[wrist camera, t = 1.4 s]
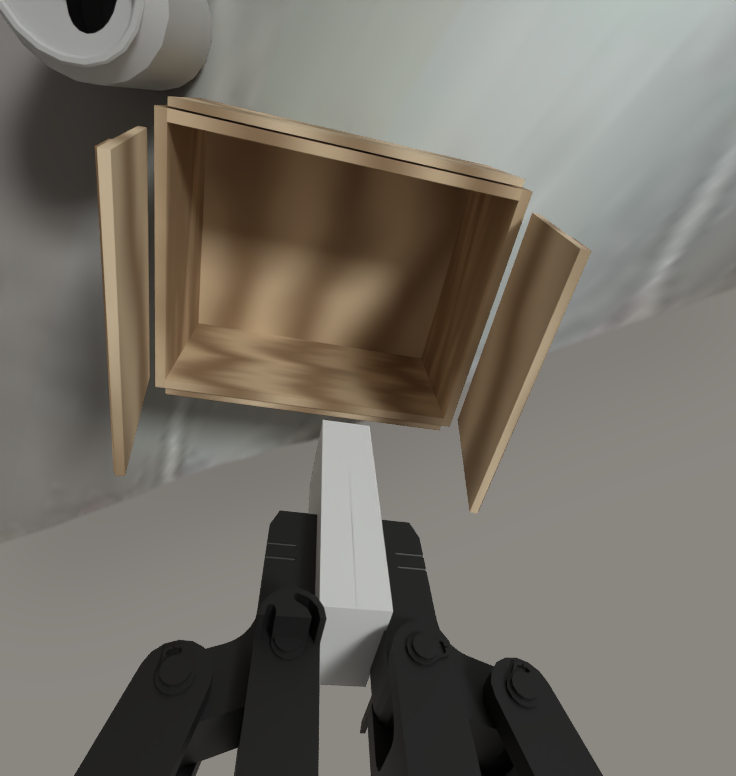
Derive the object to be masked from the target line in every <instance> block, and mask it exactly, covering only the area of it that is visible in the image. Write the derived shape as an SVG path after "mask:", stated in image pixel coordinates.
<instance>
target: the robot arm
mask: <svg viewBox="0 0 736 776" xmlns="http://www.w3.org/2000/svg"><path fill="white" fill-rule="evenodd" d="M425 569H426V567H425V563H424V558H423V553H422V549H421V544H420V539H419V537H418V535H417V534H416V532H415V531H414V529H413V528H412V526H411V525H410V523H407V522H397V521H387V520H381V512H380V504H379V497H378V489H377V481H376V473H375V466H374V458H373V450H372V442H371V435H370V427H369V426H366V425H359V424H351V423H344V422H336V421H329V420H323V422H322V427H321V432H320V437H319V442H318V447H317V452H316V457H315V462H314V467H313V472H312V477H311V482H310V493H309V514H308V513H298V512H288V511H279V513H278V514H277V516H276V517H275V518H274V520H273V521H272V522H271V524H270V527H269V534H268V540H267V547H266V554H265V560H264V567H263V574H262V581H261V588H260V595H259V602H258V609H257V615H256V619H255V620H254V622H253V624H252V625H251V627H250V628H249V629H248V630H247V631H246V632H245V633H244V634H243V635H242V636H240V637H238V638H237V639H235V640H233V641H231V642H228V643H225V644H222V645H218V646H214V647H211V648H207V649H205V648H204V647H202V646H201V645H199V644H197V643H195V642H193V641H184V640H177V641H173V642H169V643H165V644H163V645H162V646H160V647H159V648H157V649H155V650H154V651H152V652H151V653H150V654H149V655H148V656H147V658H146V659H145V660H144V661H143V662H142V664H141V665H140V667H139V668H138V670H137V672H136V673H135V675H134V677H133V678H132V680H131V682H130V683H129V685H128V687H127V688H126V690H125V692H124V693H123V695H122V697H121V698H120V700H119V702H118V703H117V705H116V707H115V708H114V710H113V712H112V713H111V715H110V717H109V718H108V720H107V722H106V723H105V725H104V727H103V729H102V730H101V732H100V733H99V735H98V737H97V738H96V740H95V742H94V743H93V745H92V747H91V748H90V750H89V752H88V754H87V755H86V757H85V758H84V760H83V762H82V763H81V765H80V767H79V768H78V770H77V772H76V773H75V775H74V776H196V773H197V771H198V768H199V766H200V763H201V761H202V760H205V759H208V758H210V757H213V756H216V755H219V754H221V753H224V752H227V751H230V750H232V749H235V748H238V750H237V758H236V765H235V772H234V776H318V753H319V752H318V750H319V685H339V686H363V687H365V686H366V684H367V681H368V679H369V675H370V678H371V691H372V696H371V699H370V702H369V704H368V707H367V709H366V712H365V714H364V717H363V719H362V722H361V723H362V724H361V730H360V733H365V732H366V730H367V727H368V737H369V752H370V753H369V754H370V770H371V776H603V775H602V773H601V772H600V770H599V768H598V767H597V765H596V763H595V761H594V760H593V758H592V756H591V755H590V753H589V751H588V749H587V748H586V746H585V744H584V743H583V741H582V739H581V738H580V736H579V734H578V733H577V731H576V729H575V728H574V726H573V724H572V722H571V721H570V719H569V717H568V716H567V714H566V712H565V711H564V709H563V707H562V705H561V704H560V702H559V700H558V699H557V697H556V695H555V694H554V692H553V691H552V688H551V687H550V685H549V684H548V682H547V681H546V679H545V678H544V677H543V675H542V674H541V673H540V672H539V671H538V670H537V669H536V668H534V667H533V666H532V665H531V664H529V663H528V662H525V661H523V660H520V659H518V658H504V659H502V660H500V661H498V662H496V664H495V666H491V665H489V664H486V663H484V662H481V661H479V660H476V659H474V658H471V657H469V656H466V655H465V654H462V653H461V652H459V651H458V650H457V649H455V648H454V647H453V646H452V645H451V644H450V642H449V640H448V639H447V638H446V637H445V636H444V634H443V633H442V632H441V631H440V629H439V626H438V623H437V620H436V616H435V610H434V605H433V602H432V596H431V592H430V586H429V582H428V577H427V572H426V571H425Z"/></svg>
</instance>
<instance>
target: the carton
mask: <svg viewBox="0 0 736 776" xmlns="http://www.w3.org/2000/svg"><path fill="white" fill-rule="evenodd" d="M524 182H525V179H522V178H519V177H517V176H514V175H511V174H509V173H506V172H503V171H501V170H498V169H495V168H492V167H490V166H486V165H482V164H478V163H474V162H469V161H465V160H461V159H456V158H452V157H448V156H444V155H439V154H435V153H431V152H427V151H422V150H418V149H414V148H410V147H405V146H401V145H397V144H393V143H388V142H384V141H380V140H376V139H371V138H367V137H363V136H359V135H354V134H350V133H346V132H342V131H337V130H333V129H329V128H325V127H320V126H316V125H312V124H308V123H303V122H299V121H295V120H290V119H286V118H282V117H278V116H273V115H269V114H265V113H261V112H256V111H252V110H248V109H244V108H239V107H235V106H231V105H227V104H222V103H218V102H214V101H210V100H205V99H201V98H187V97H170V96H168V105H154V191H155V387H161V388H166V394H171V395H178V396H186V397H193V398H201V399H208V400H216V401H223V402H230V403H238V404H245V405H253V406H260V407H268V408H275V409H283V410H290V411H298V412H305V413H313V414H320V415H328V416H335V417H343V418H350V419H357V420H365V421H372V422H380V423H388V424H396V425H403V426H410V427H418V428H425V429H433V430H440V427H441V426H448V427H449V426H450V424H451V421H452V418H453V416H454V413H455V410H456V407H457V404H458V401H459V399H460V396H461V393H462V390H463V387H464V384H465V382H466V379H467V376H468V373H469V370H470V367H471V365H472V362H473V359H474V356H475V353H476V351H477V348H478V345H479V342H480V339H481V336H482V334H483V331H484V328H485V325H486V322H487V319H488V317H489V314H490V311H491V308H492V305H493V302H494V300H495V297H496V294H497V291H498V288H499V285H500V283H501V280H502V277H503V274H504V271H505V268H506V266H507V263H508V260H509V257H510V254H511V252H512V249H513V246H514V243H515V240H516V237H517V235H518V232H519V229H520V226H521V223H522V220H523V218H524V215H525V212H526V209H527V206H528V203H529V201H530V198H531V195H532V191H530V190H527V189H525V188H522V187H523V185H524Z"/></svg>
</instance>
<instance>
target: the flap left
mask: <svg viewBox="0 0 736 776" xmlns="http://www.w3.org/2000/svg"><path fill="white" fill-rule="evenodd" d="M95 159H96V176H97V193H98V210H99V227H100V244H101V261H102V278H103V295H104V312H105V330H106V347H107V364H108V381H109V398H110V415H111V432H112V449H113V466H114V473H115V476H125V474H126V470H127V466H128V462H129V458H130V454H131V450H132V446H133V442H134V438H135V434H136V430H137V426H138V422H139V418H140V414H141V410H142V406H143V402H144V398H145V394H146V390H147V386H148V382H149V378H150V353H149V262H148V171H147V128H146V127H141V126H137V127H135V128H133V129H131V130H129V131H127V132H125V133H123V134H121V135H119V136H117V137H115V138H114V139H107V140H105V141H103V142H101V143H99V144H97V145H95Z"/></svg>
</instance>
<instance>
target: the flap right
mask: <svg viewBox="0 0 736 776" xmlns="http://www.w3.org/2000/svg"><path fill="white" fill-rule="evenodd" d="M590 253H591V250H590V249H588V248H587V247H585V246H584V245H583V244H581V243H580V242H578V241H577V240H576V239H574V238H571V237H570V236H568V235H567V234H566V233H564V232H563V231H562V230H560V229H559V228H557V227H556V226H555V225H553V224H552V223H550V222H549V221H548V220H546V219H545V218H544V217H542V216H541V215H539V214H535V213H532V216H531V218H530V221H529V224H528V227H527V229H526V232H525V235H524V238H523V240H522V243H521V246H520V249H519V252H518V254H517V257H516V260H515V263H514V265H513V268H512V271H511V274H510V277H509V279H508V282H507V285H506V288H505V290H504V293H503V296H502V299H501V301H500V304H499V307H498V310H497V313H496V315H495V318H494V321H493V324H492V326H491V329H490V332H489V335H488V338H487V340H486V343H485V346H484V349H483V351H482V354H481V357H480V360H479V363H478V365H477V368H476V371H475V374H474V376H473V379H472V382H471V385H470V388H469V391H468V393H467V396H466V399H465V401H464V404H463V407H462V410H461V412H460V415H459V418H458V425H459V433H460V441H461V449H462V455H463V464H464V472H465V480H466V487H467V495H468V503H469V511H470V512H472V513H477V512H478V511H479V509H480V507H481V504H482V502H483V500H484V498H485V495H486V493H487V491H488V488H489V486H490V484H491V481H492V479H493V477H494V475H495V472H496V470H497V468H498V465H499V463H500V461H501V458H502V456H503V454H504V451H505V449H506V447H507V445H508V442H509V440H510V438H511V435H512V433H513V431H514V428H515V426H516V424H517V421H518V419H519V417H520V414H521V412H522V410H523V407H524V405H525V403H526V401H527V398H528V396H529V394H530V391H531V389H532V387H533V385H534V382H535V380H536V378H537V375H538V373H539V371H540V368H541V366H542V364H543V361H544V359H545V357H546V355H547V352H548V350H549V348H550V345H551V343H552V341H553V338H554V336H555V334H556V331H557V329H558V327H559V325H560V322H561V320H562V318H563V315H564V313H565V311H566V308H567V306H568V304H569V301H570V299H571V297H572V295H573V292H574V290H575V288H576V285H577V283H578V281H579V278H580V276H581V274H582V271H583V269H584V267H585V265H586V262H587V260H588V258H589V255H590Z"/></svg>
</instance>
